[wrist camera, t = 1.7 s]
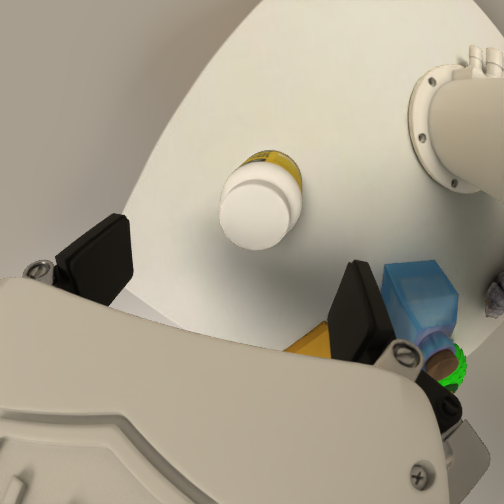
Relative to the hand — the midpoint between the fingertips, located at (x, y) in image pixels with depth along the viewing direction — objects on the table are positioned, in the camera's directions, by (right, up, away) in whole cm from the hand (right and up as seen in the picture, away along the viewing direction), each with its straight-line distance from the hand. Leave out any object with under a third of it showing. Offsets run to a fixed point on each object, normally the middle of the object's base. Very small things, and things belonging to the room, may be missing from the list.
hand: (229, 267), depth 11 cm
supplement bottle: (+3, +7, +13) cm, 15 cm away
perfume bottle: (+18, -3, +16) cm, 24 cm away
